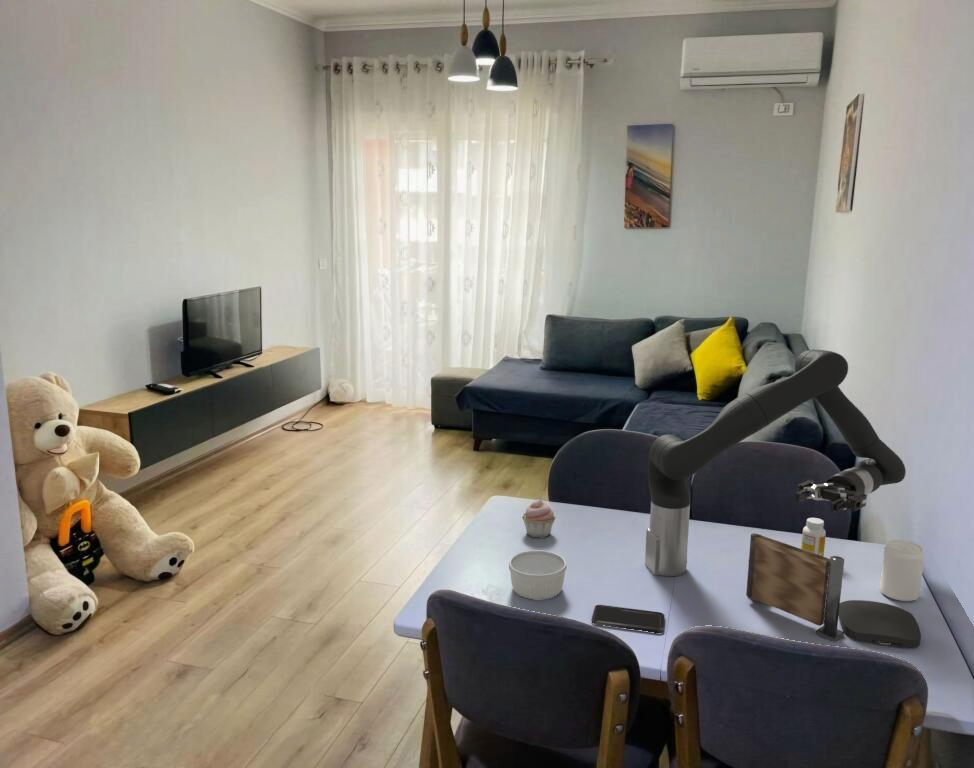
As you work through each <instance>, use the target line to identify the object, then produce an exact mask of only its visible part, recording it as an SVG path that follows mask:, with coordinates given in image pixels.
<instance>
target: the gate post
mask: <svg viewBox="0 0 974 768" xmlns="http://www.w3.org/2000/svg"><path fill="white" fill-rule="evenodd" d="M829 559H830V566H829V575H828V584H827V594H826V604H825V614H824V623H823V624H822V625H821V626H819V627H818V629H816V630H815V633H814V634H815V635H816V636H818V637H821V638H823V639H826V640H828V641H830V642H832V643H835V642H837V641H838V640H840V639H841V638H842V637H844V635H845V634H844V632H843V630H840V629H838V623H839V622H838V621H839V616H838V615H839V606H840V603H841V595H842V587H843V586H842V585H843V577H844V576H843V575H844V569H845V568H844V567H845V558H843V557H841V556H839V555H838V556H837V555H832V556H830V558H829ZM747 598H749V599H751V600H753V601H756V602H758V603H760V602H761V601H758V600H756V599H754V598H750V597H747Z"/></svg>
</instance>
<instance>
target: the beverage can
mask: <svg viewBox="0 0 974 768" xmlns="http://www.w3.org/2000/svg"><path fill="white" fill-rule="evenodd" d="M883 549H884V550H883V558H882V564H881V565H882V567H881V575H880V583H879V591H880V592H881V593H882V594H883V595H885V596H887V597H888V598H890V599H892V600H895V601H901V602H913V601H916V600H918V599H919V598H920V596H921V588H922V578H923V571H924V563H925V557H926V555H925V552H924V548H923V547H922V546H921V544H918V543H916V542H913V541H911V540H905V539H891V540H888V541H887V544H886V545H885V546H884V548H883Z"/></svg>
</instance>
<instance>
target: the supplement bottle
mask: <svg viewBox="0 0 974 768" xmlns="http://www.w3.org/2000/svg"><path fill="white" fill-rule="evenodd" d="M824 527H825V522H824V520H823V519H821V518H819V517H818V518H817V517H808V518H807V519H806V524H805V526H804V527H803V529H802V535H801V536H802V537H801V548H800V549H803V550H806V551H808V552H811V553H814V554H817V555H820V556H823V557H825V547H826V536H827V535H826V534H827V533H826V530H825V528H824Z"/></svg>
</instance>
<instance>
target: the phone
mask: <svg viewBox="0 0 974 768" xmlns="http://www.w3.org/2000/svg"><path fill="white" fill-rule="evenodd" d="M665 616H666V615H665V614H664V613H663V612H660V611H652V610H645V609H637V608H636V609H635V608H629V607H621V606H613V605H606V604H596V605H594V609H593V613H592V616H591V621H592V623H594V624H596V625H595V626H597V625H599V626H598V627H604V626H603V625H605V626H611V627H618V628H617V629H619V628H626V629H634V630H642V631H648V632H654V633H653V634H656V633H661V634H663V633H664V626H665ZM592 623H591V624H592ZM611 627H610V628H611ZM626 629H625V630H626ZM634 630H633V631H634ZM648 632H647V633H648ZM662 632H663V633H662Z"/></svg>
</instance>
